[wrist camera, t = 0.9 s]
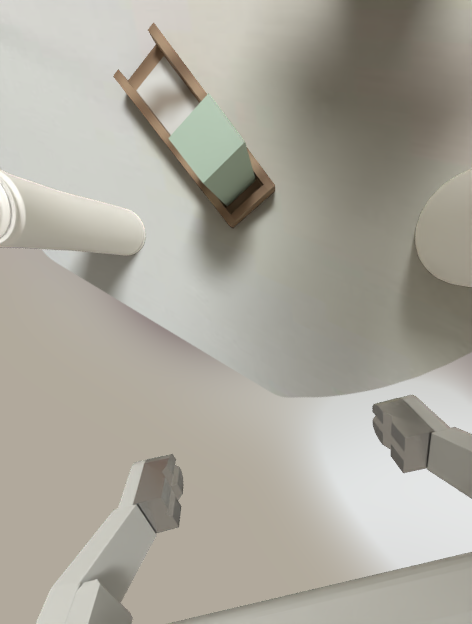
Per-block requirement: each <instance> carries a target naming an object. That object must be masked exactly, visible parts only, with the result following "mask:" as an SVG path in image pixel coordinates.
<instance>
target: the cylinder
mask: <svg viewBox="0 0 472 624" xmlns="http://www.w3.org/2000/svg"><path fill="white" fill-rule="evenodd" d="M415 246H416V249H417V253H418V257H419V259H420V260H421V262H422V263H423V265H424V267H425V268H426V269H427V270H428V271H429V272H430V273H431V274H433V275H434V276H435V277H436V278H438V279H440V280H443V281H445V282H447V283H450V284H455V285H460V286H466V287H472V169H470V170H468V171H465V172H463V173H461V174H458V175H456V176H455V177H454V178H452V179H451V180H449V181H448V182H446V183H445V184H443V185H442V186H441V187H440V188H439V189H438V190H437V191H436V192H435V193H434V194H433V195H432V196H431V197H430V198H429V200H428V202H427V203H426V205H425V207H424V208H423V210H422V212H421V213H420V216H419V219H418V223H417V226H416V230H415Z"/></svg>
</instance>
